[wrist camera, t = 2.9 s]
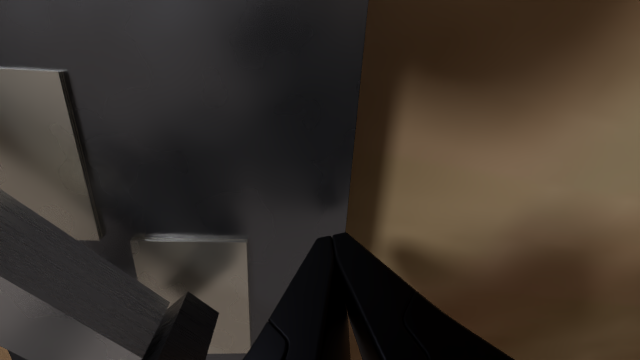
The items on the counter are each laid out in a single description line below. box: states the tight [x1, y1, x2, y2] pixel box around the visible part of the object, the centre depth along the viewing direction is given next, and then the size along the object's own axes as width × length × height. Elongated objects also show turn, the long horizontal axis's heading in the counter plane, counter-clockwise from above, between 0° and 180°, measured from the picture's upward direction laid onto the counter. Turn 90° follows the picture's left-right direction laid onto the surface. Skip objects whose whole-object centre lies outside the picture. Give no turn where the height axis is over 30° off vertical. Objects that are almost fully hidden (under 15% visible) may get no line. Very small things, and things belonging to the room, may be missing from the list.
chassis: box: [0, 0, 368, 360], centre depth 11 cm, size 16×12×2 cm
